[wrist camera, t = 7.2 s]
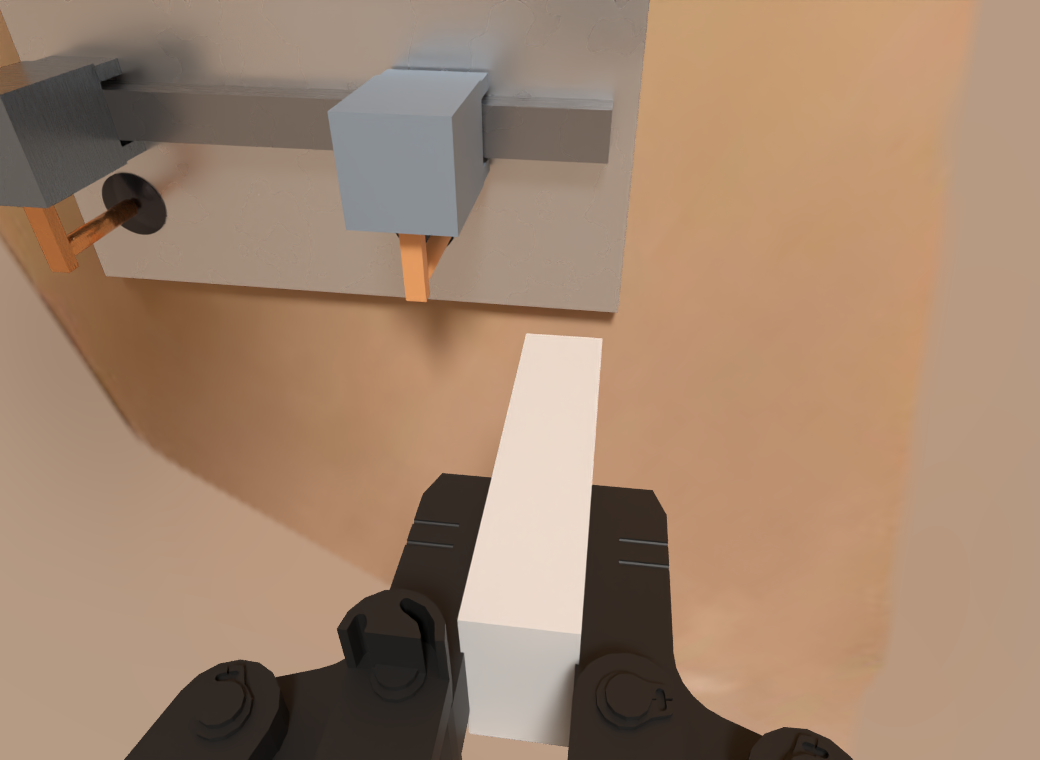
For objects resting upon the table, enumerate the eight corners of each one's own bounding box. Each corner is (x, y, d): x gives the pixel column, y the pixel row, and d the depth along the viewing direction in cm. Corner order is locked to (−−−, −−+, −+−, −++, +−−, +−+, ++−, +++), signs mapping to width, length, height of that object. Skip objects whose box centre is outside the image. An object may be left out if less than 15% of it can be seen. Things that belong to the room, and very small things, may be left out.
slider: (387, 66, 27) (327, 111, 22) (487, 69, 26) (451, 116, 21) (404, 237, 31) (358, 309, 26) (491, 242, 31) (462, 317, 25)
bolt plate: (1, -49, 28) (-182, -29, 21) (652, -38, 25) (658, -11, 19) (120, 265, 36) (13, 345, 30) (618, 300, 33) (614, 395, 27)
